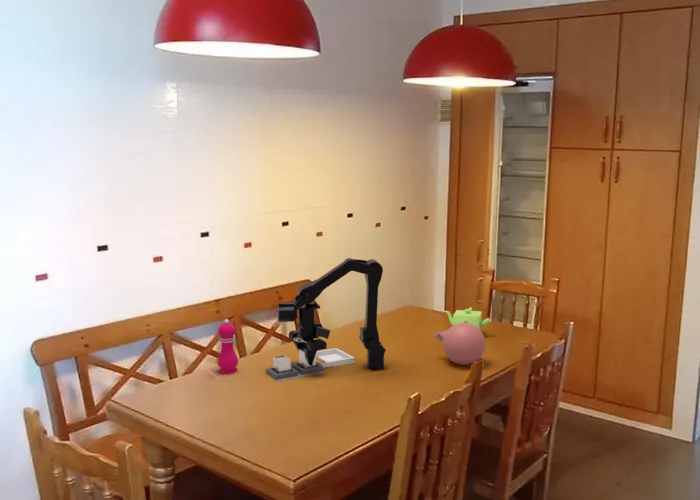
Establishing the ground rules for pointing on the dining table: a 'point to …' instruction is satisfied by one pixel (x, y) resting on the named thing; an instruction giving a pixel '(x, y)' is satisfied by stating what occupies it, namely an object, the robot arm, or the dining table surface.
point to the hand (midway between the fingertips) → (307, 363)
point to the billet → (281, 364)
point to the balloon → (462, 343)
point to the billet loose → (305, 360)
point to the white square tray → (334, 357)
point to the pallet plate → (295, 372)
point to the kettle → (468, 317)
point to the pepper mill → (227, 349)
